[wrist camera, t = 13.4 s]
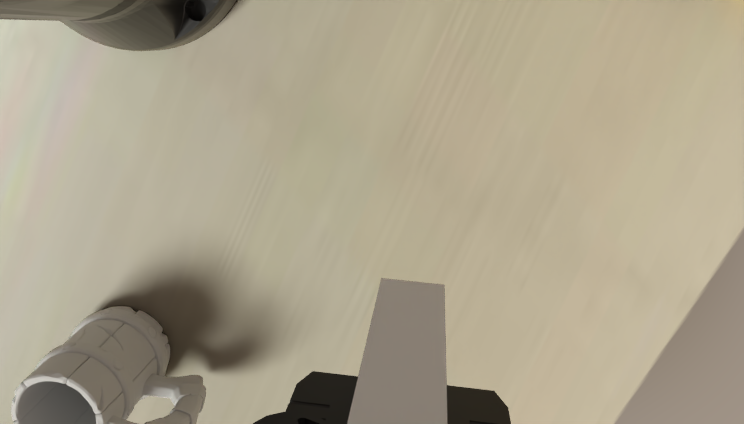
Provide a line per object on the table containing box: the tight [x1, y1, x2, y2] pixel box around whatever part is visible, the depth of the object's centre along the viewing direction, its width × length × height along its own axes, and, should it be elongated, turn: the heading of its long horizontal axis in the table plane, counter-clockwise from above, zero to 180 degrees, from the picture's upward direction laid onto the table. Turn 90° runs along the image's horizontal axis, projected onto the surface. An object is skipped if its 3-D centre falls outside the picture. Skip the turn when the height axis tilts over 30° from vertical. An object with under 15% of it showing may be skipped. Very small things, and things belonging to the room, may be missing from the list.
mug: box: [11, 306, 206, 424], centre depth 44 cm, size 8×12×12 cm, turn 72°
